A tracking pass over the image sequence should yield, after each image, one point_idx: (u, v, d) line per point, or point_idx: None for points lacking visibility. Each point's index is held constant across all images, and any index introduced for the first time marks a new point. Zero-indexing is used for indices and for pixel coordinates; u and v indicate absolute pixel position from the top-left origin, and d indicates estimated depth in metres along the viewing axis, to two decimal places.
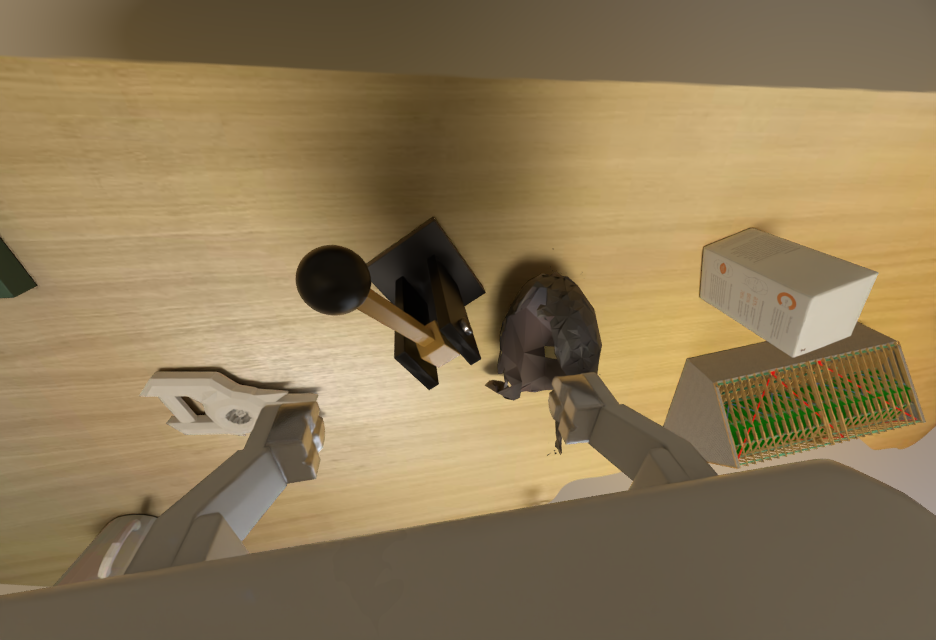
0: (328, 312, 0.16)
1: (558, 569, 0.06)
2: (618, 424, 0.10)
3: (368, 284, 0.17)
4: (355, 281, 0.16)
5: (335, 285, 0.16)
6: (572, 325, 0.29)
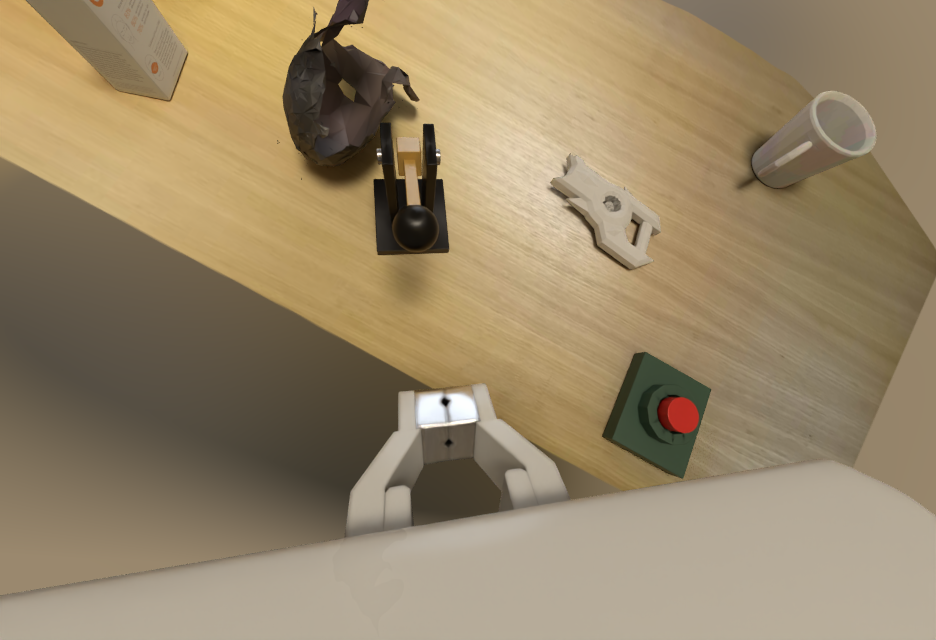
0: (425, 210, 0.25)
1: (558, 569, 0.06)
2: (490, 441, 0.09)
3: (396, 214, 0.25)
4: (397, 218, 0.25)
5: (407, 221, 0.24)
6: (301, 103, 0.33)
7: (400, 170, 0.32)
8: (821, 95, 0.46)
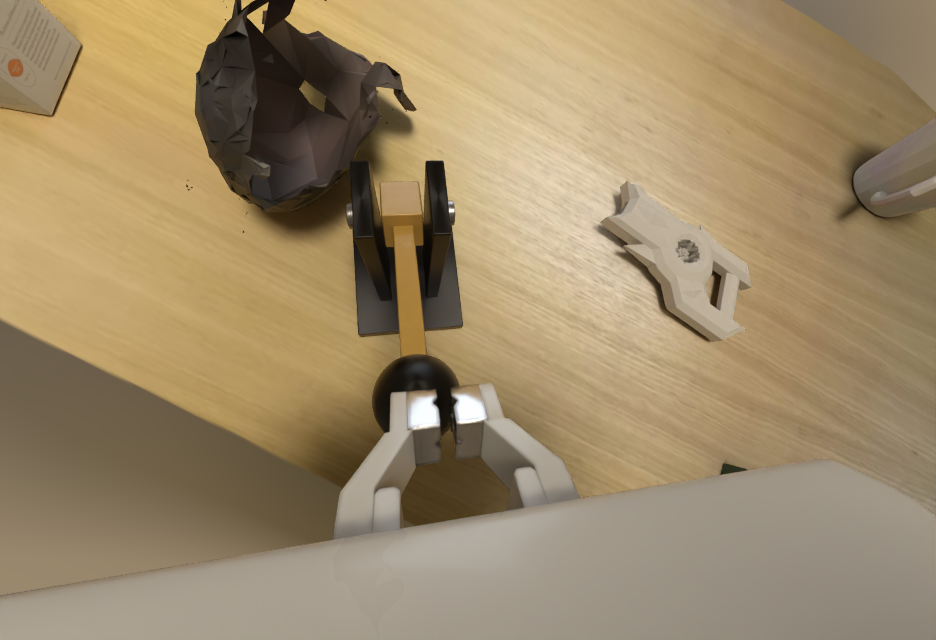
0: (437, 381, 0.12)
1: (558, 569, 0.06)
2: (498, 440, 0.09)
3: (379, 378, 0.13)
4: (381, 398, 0.12)
5: None
6: (219, 126, 0.19)
7: (388, 240, 0.19)
8: None
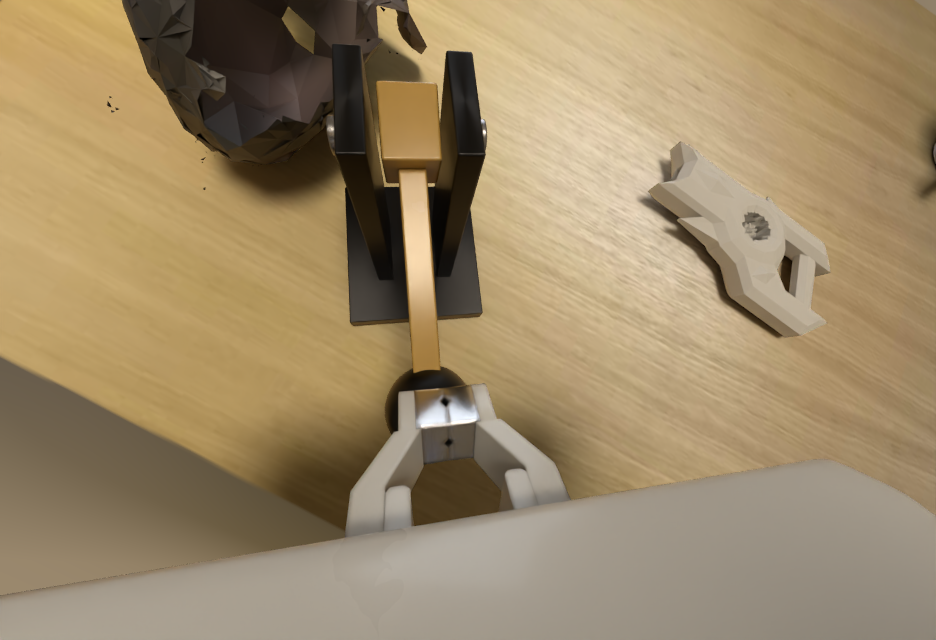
0: None
1: (558, 569, 0.06)
2: (490, 441, 0.09)
3: (392, 403, 0.13)
4: (396, 429, 0.12)
5: None
6: (149, 10, 0.13)
7: (390, 178, 0.14)
8: None
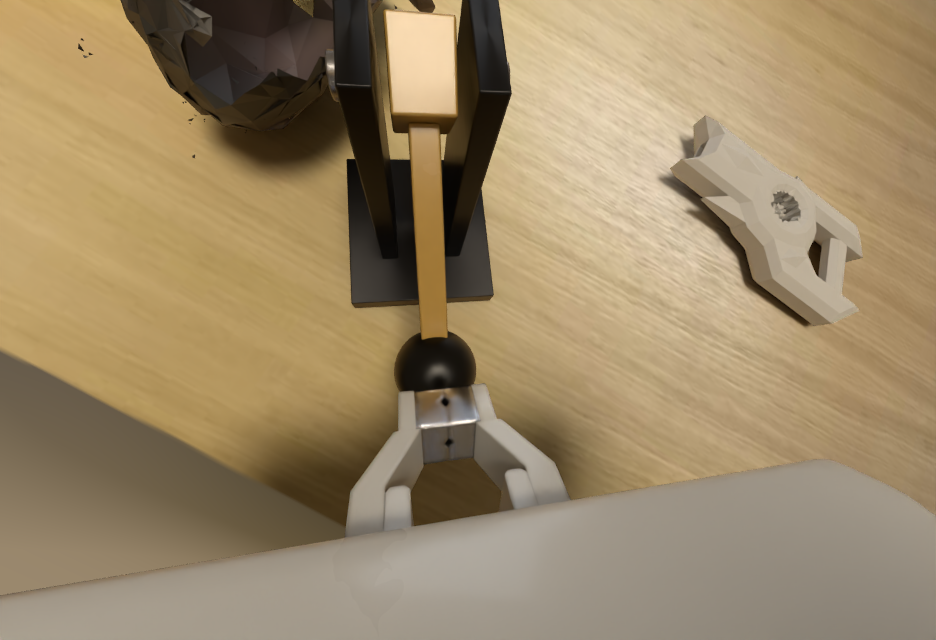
0: (458, 385, 0.13)
1: (558, 569, 0.06)
2: (490, 441, 0.09)
3: (402, 368, 0.13)
4: None
5: None
6: None
7: (398, 129, 0.12)
8: None
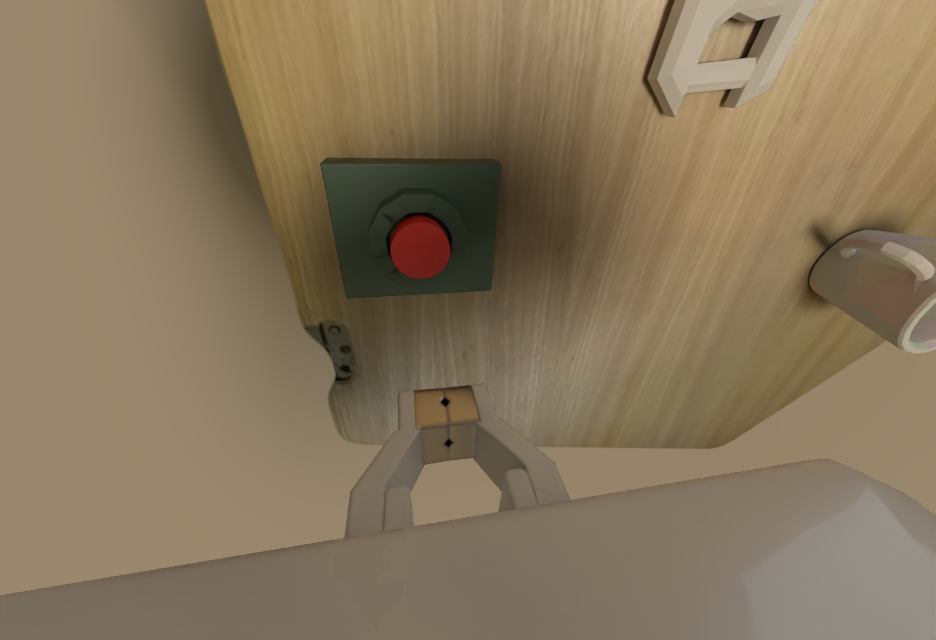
0: None
1: (558, 569, 0.06)
2: (490, 441, 0.09)
3: None
4: None
5: None
6: None
7: None
8: None
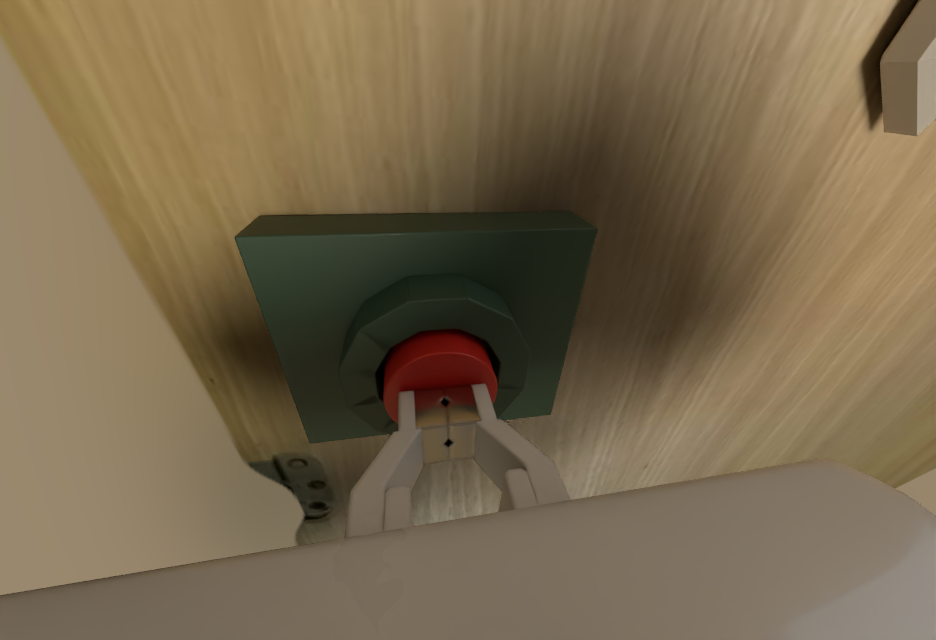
0: None
1: (558, 569, 0.06)
2: (490, 441, 0.09)
3: None
4: None
5: None
6: None
7: None
8: None
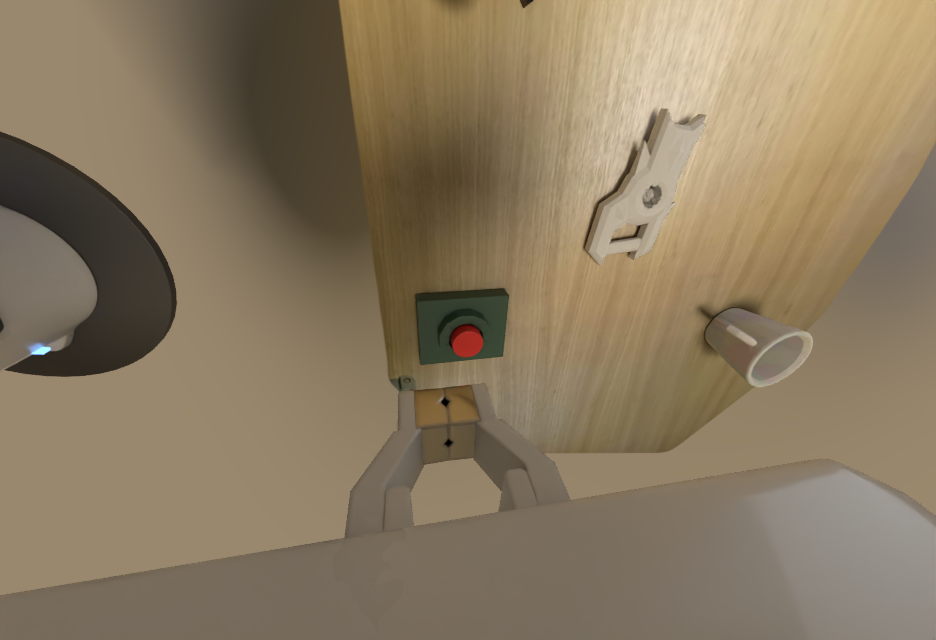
0: None
1: (558, 569, 0.06)
2: (490, 441, 0.09)
3: None
4: None
5: None
6: None
7: None
8: (807, 335, 0.48)
